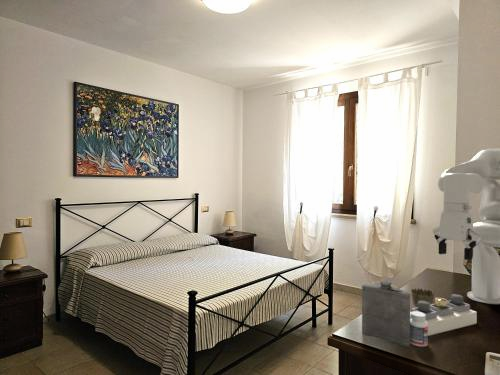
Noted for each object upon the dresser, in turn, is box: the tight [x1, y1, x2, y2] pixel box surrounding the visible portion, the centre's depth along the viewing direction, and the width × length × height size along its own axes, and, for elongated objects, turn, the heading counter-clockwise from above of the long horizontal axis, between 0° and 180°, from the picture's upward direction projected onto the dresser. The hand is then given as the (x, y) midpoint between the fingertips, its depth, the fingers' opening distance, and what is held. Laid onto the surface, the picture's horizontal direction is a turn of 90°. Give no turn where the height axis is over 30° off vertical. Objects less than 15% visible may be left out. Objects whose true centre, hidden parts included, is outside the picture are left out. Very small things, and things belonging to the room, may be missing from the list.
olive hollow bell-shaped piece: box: [410, 287, 435, 308], centre depth 123 cm, size 8×7×8 cm
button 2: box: [450, 293, 464, 305], centre depth 116 cm, size 4×4×3 cm
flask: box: [361, 279, 411, 347], centre depth 103 cm, size 4×14×18 cm, turn 52°
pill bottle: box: [410, 311, 429, 348], centre depth 101 cm, size 5×5×9 cm
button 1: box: [418, 301, 430, 313], centre depth 110 cm, size 4×4×3 cm
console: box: [410, 299, 478, 337], centre depth 113 cm, size 23×9×6 cm, turn 112°
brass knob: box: [434, 297, 448, 309], centre depth 113 cm, size 4×4×3 cm
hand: (454, 256), depth 117 cm, fingers open, 9 cm apart
